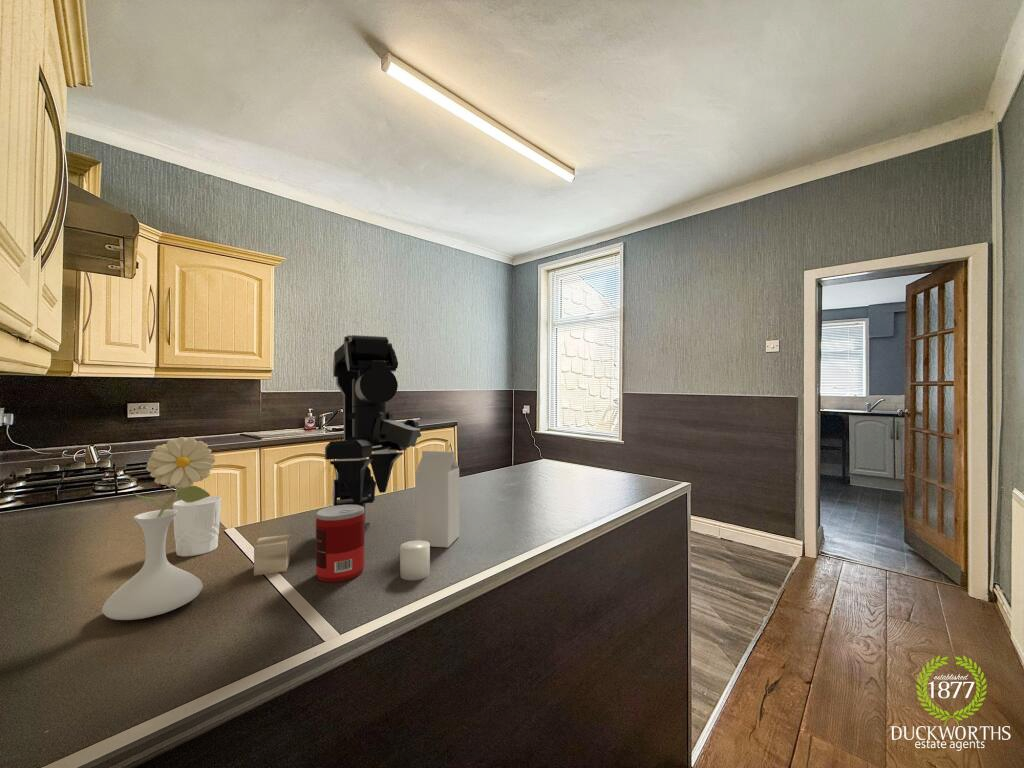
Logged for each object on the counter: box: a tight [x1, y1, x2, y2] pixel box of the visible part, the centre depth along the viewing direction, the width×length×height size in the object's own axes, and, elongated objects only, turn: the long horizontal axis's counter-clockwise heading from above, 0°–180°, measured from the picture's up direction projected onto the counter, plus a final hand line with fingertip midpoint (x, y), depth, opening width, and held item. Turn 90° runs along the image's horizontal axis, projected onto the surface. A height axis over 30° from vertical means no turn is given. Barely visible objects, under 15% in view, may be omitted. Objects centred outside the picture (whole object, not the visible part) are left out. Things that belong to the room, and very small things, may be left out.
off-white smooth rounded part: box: [399, 539, 431, 581], centre depth 74 cm, size 5×5×5 cm
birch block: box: [253, 534, 291, 577], centre depth 77 cm, size 5×5×5 cm
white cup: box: [172, 495, 222, 557], centre depth 86 cm, size 8×8×10 cm
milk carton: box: [415, 450, 460, 548], centre depth 91 cm, size 7×7×19 cm
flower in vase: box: [101, 436, 216, 621], centre depth 64 cm, size 13×11×25 cm
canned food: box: [315, 505, 366, 583], centre depth 75 cm, size 8×8×11 cm
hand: (370, 497), depth 74 cm, fingers open, 9 cm apart
